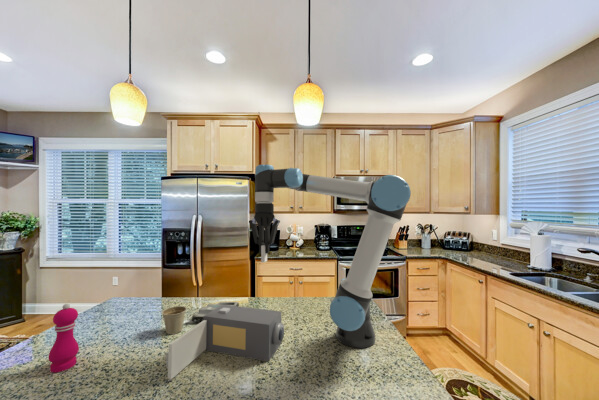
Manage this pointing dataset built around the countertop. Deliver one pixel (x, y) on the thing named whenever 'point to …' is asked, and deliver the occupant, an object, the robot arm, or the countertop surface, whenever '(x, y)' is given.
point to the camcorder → (210, 309)
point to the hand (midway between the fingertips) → (264, 261)
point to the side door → (186, 349)
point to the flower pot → (174, 319)
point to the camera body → (244, 331)
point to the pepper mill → (64, 340)
